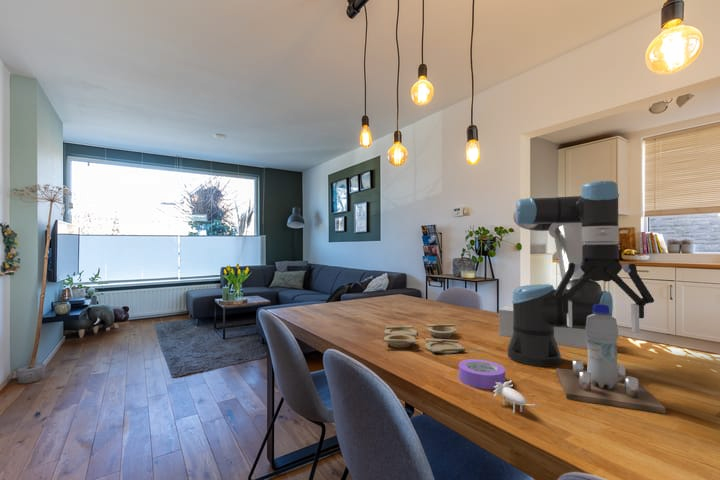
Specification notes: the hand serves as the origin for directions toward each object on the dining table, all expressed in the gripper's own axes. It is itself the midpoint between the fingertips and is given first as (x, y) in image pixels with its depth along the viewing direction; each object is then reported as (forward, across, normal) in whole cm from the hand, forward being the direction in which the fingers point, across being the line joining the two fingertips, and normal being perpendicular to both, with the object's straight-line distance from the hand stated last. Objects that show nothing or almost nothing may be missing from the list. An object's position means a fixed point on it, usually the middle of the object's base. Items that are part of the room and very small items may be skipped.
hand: (601, 329), depth 83 cm
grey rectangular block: (+16, -8, +47) cm, 50 cm away
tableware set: (+16, -52, +26) cm, 61 cm away
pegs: (+14, 0, 0) cm, 14 cm away
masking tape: (+15, -28, -5) cm, 32 cm away
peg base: (+15, 0, 0) cm, 15 cm away
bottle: (+14, 0, 0) cm, 14 cm away
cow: (+15, -20, -20) cm, 32 cm away
